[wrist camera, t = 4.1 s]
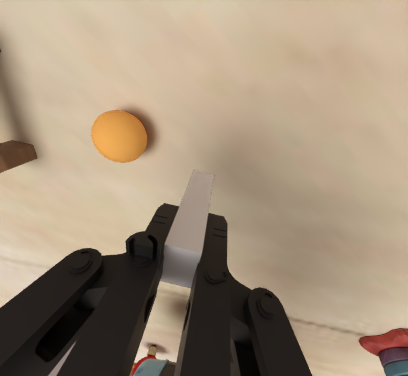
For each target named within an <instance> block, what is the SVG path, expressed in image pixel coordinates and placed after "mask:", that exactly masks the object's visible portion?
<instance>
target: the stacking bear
mask: <svg viewBox="0 0 408 376" xmlns="http://www.w3.org/2000/svg"><path fill="white" fill-rule="evenodd" d="M359 343H360V344H361V346H362V347H363V348H364V349H366V350H367V351H369V352H370V353H372V354H374V355H376V356H379V358H380V361H381V364H382V366H383V368H384V372H385V374H386V376H408V329H396V330H392V331H390V332H389V333H387V334H384V335H379V336H366V337H363V338H360V340H359Z"/></svg>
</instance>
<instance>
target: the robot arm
mask: <svg viewBox="0 0 408 376" xmlns="http://www.w3.org/2000/svg"><path fill="white" fill-rule="evenodd" d="M213 180H214V175H212V174H208V173H204V172H200V171H195V170H194V171H193V173H192V176H191V178H190V181H189V183H188V186H187V188H186V191H185V194H184V196H183V199H182V201H181V204H180V206H174V205H170V204H166V203H164V204H163V205H161V206H160V207H159V208H158V209H157V211H156V213H155V214H154V216H153V218H152V220H151V222H150V223H149V225H148V227H147V229H146V231H143V232H138V233H135V234H133V235H131V236H130V237H129V238H128V239H127V240H126V253H123V254H118V255H105V256H101V253H100V252H99V251H98V250H96V249H92V248H84V249H80V250H77V251H74V252H73V253H71V254H69V255H68V256H66V257H65V258H64V259H62V260H61V261H60V262H59V263H57V264H56V265H55V266H53V267H52V268H51V269H50V270H48V271H47V272H46V273H45V274H43V275H42V276H41V277H39V278H38V279H37V280H36V281H34V282H33V283H32V284H30V285H29V286H28V287H27V288H25V289H24V290H23V291H22V292H20V293H19V294H18V295H16V296H15V297H14V298H13V299H11V300H10V301H9V302H7V303H6V304H5V305H4V306H2V307H1V308H0V376H48V375H49V374H50V373H51V371H52V370H53V369H54V368H55V367H56V365H57V364H58V363H59V362H60V360H61V359H62V358H63V357H64V355H65V354H66V353H67V352H68V350H69V349H70V348H71V347H72V345H73V344H74V343H75V342H76V343H75V344H74V346H73V348H72V349H71V351H70V353H69V355H68V356H67V358H66V360H65V361H64V363H63V365H62V367H61V368H60V370H59V372H58V373H57V375H56V376H129V375H130V372H131V369H132V366H133V363H134V360H135V357H136V354H137V351H138V348H139V345H140V342H141V339H142V336H143V333H144V330H145V327H146V324H147V321H148V318H149V315H150V312H151V310H152V307H153V304H154V301H155V298H156V294H157V288H158V285H159V282H160V279H161V281H162V282H166V283H170V284H175V285H179V286H183V287H187V288H191V292H190V297H189V300H188V303H187V307H186V315H185V320H184V325H183V331H182V336H181V341H180V347H179V352H178V357H177V362H176V363H175V362H171V361H169V360H167V359H166V360H158V359H151V358H150V359H146V360H145V361H143V362H142V363H141V364H140V365H139V367H138V368H137V370H136V371H135V373H134V375H133V376H312V374H311V372H310V369H309V367H308V364H307V362H306V360H305V357H304V355H303V353H302V350H301V348H300V346H299V343H298V341H297V339H296V336H295V334H294V332H293V329H292V327H291V325H290V322H289V320H288V318H287V315H286V313H285V311H284V308H283V306H282V304H281V303H280V301H279V299H278V298H277V297H276V296H275V295H274V294H273V293H272V292H271V291H269V290H267V289H265V288H260V287H259V288H255V289H253V290H251V289H249V288H248V287H246V286H244V285H242V284H241V283H239V282H238V281H237V280H235V279H234V278H233V276H232V275H231V274H230V272H229V270H228V267H227V222H226V220H225V218H224V217H223V216H219V215H215V214H211V213H208V212H209V205H210V199H211V193H212V186H213Z"/></svg>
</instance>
